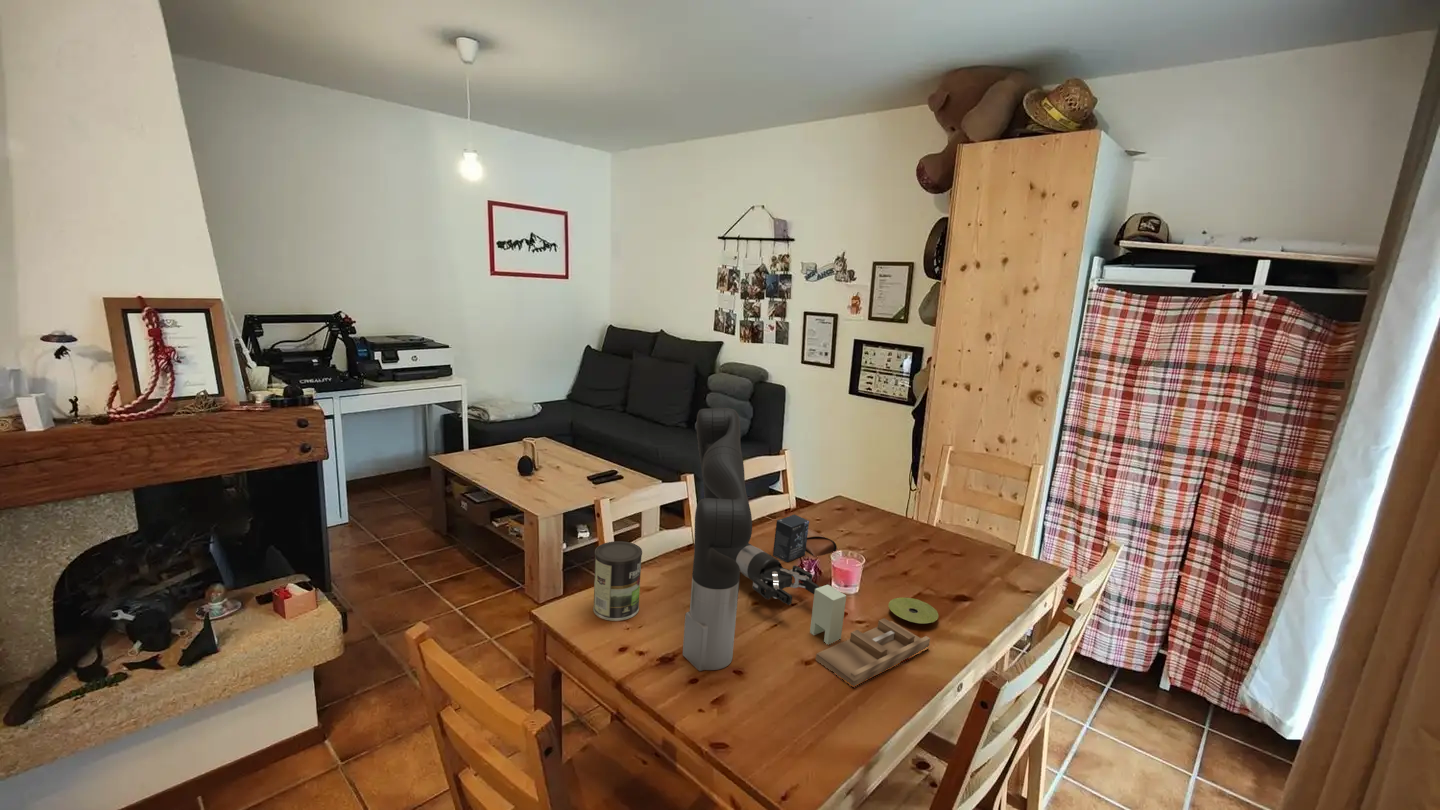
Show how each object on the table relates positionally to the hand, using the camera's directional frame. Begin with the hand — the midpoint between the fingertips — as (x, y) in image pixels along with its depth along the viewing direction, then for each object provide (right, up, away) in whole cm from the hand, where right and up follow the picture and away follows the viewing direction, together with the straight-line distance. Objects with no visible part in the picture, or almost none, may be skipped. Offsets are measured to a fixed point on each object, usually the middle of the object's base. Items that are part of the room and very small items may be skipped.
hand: (804, 595), depth 137 cm
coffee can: (-42, -3, 0) cm, 43 cm away
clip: (+4, -7, -4) cm, 9 cm away
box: (0, +1, +33) cm, 33 cm away
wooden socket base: (+13, -9, -10) cm, 19 cm away
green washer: (+26, -7, +6) cm, 28 cm away
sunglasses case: (+6, +2, +42) cm, 43 cm away
